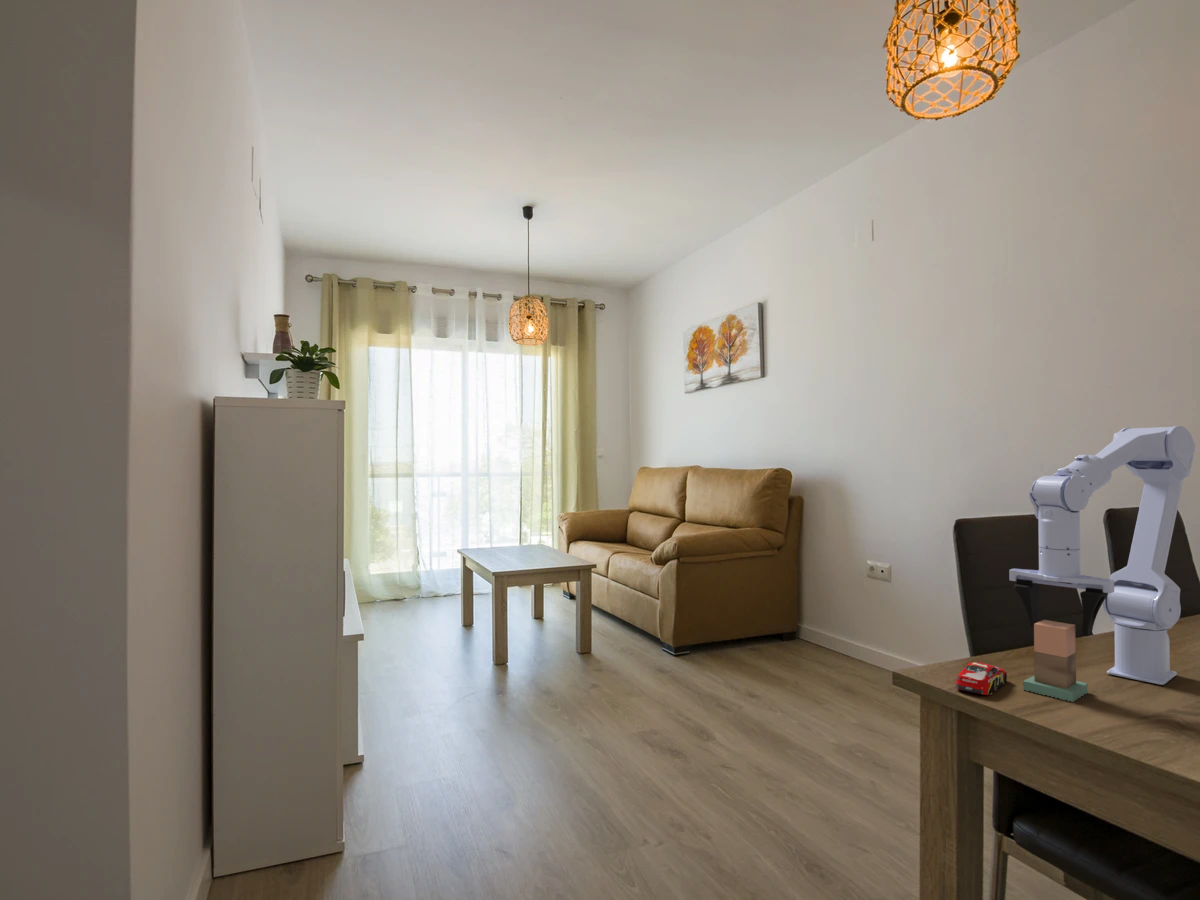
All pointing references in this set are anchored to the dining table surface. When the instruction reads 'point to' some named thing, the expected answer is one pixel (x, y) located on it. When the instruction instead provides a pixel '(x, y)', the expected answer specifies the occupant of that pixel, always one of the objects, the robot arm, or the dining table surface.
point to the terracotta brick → (1054, 638)
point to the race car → (980, 678)
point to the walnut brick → (1055, 669)
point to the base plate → (1056, 689)
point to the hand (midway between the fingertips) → (1059, 629)
